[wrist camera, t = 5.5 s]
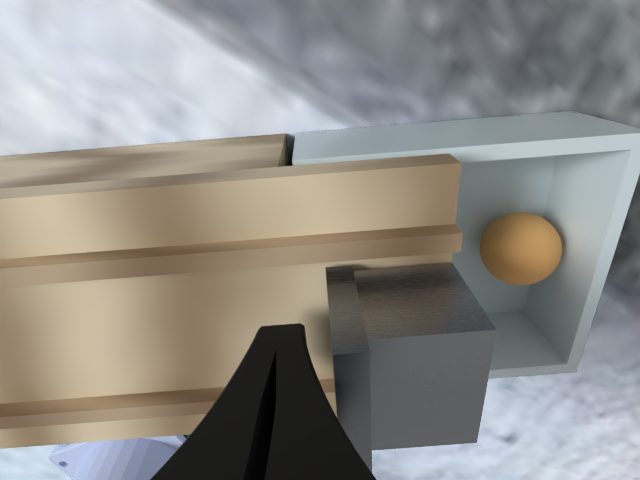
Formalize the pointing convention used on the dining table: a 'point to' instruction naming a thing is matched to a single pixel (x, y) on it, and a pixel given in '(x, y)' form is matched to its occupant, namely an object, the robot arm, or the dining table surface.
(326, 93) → the dining table surface
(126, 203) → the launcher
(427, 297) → the brushed steel stepped cube
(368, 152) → the open box
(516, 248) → the ball
